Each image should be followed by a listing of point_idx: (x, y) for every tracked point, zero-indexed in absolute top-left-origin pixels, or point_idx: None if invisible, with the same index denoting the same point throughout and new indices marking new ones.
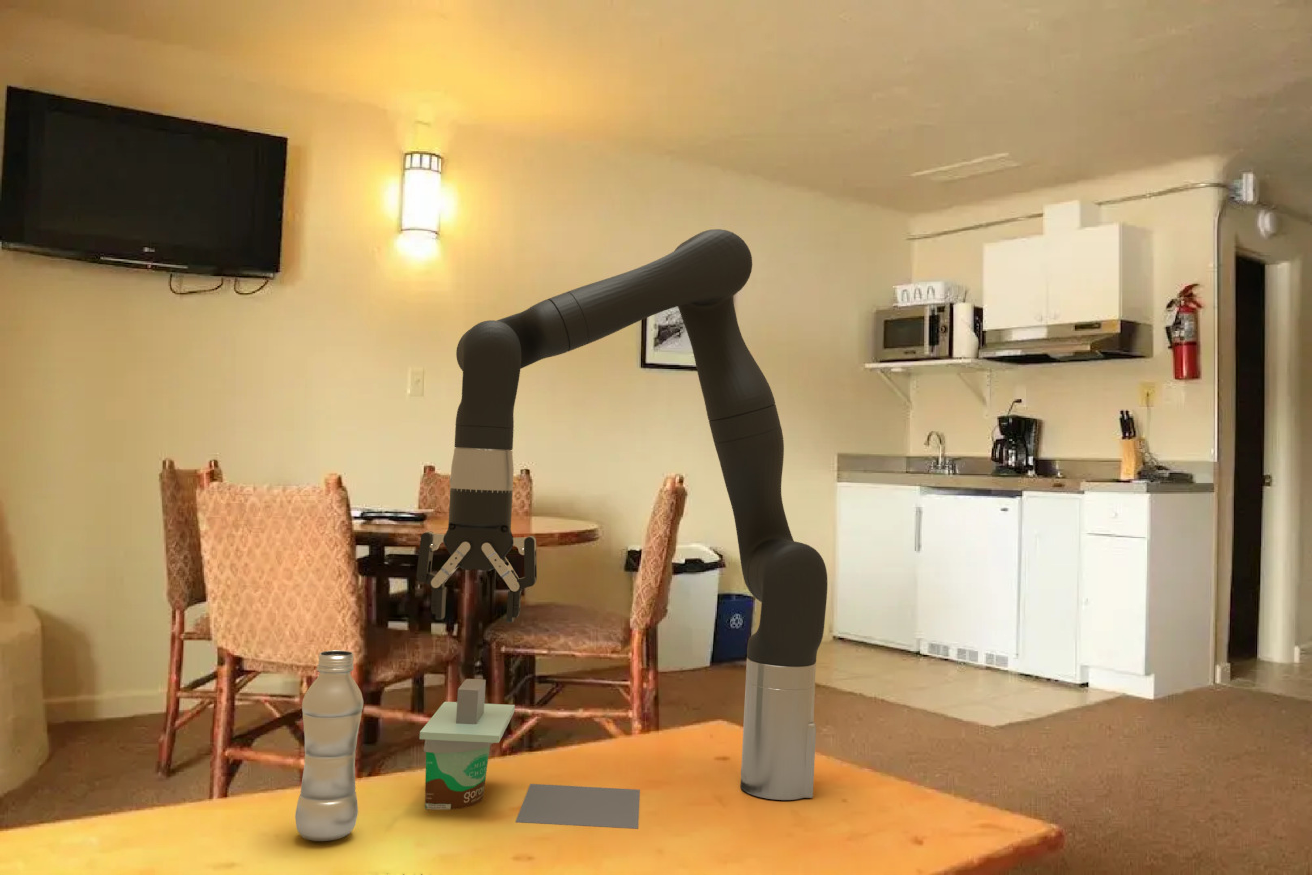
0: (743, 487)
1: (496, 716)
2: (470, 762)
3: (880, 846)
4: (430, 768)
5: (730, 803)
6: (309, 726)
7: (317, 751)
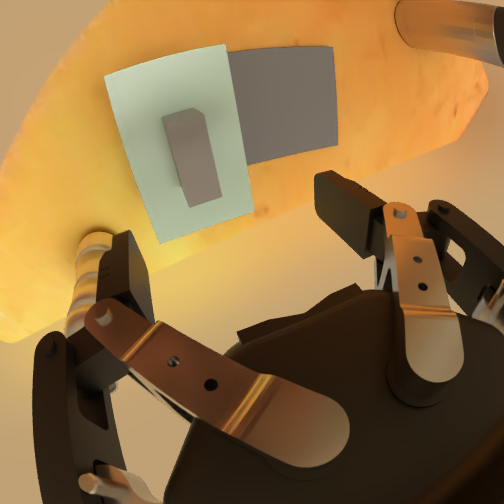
0: None
1: (220, 123)
2: None
3: (442, 122)
4: None
5: (389, 53)
6: None
7: None
